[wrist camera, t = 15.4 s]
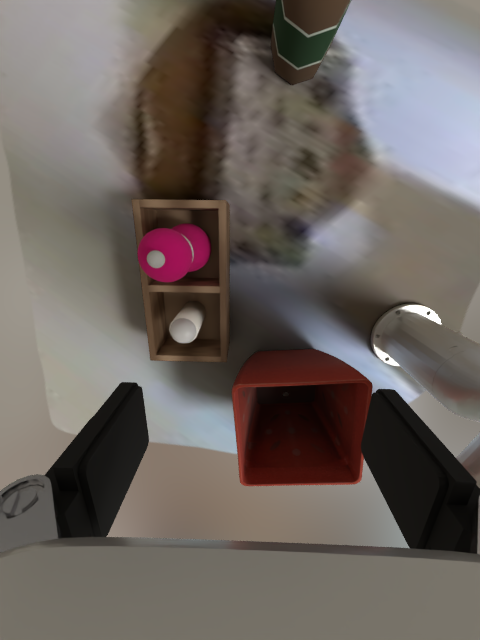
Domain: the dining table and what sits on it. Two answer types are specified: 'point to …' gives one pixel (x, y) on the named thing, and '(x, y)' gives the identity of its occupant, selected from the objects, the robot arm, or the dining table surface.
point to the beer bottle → (304, 35)
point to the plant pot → (299, 419)
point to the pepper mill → (173, 252)
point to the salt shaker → (188, 322)
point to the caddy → (188, 281)
